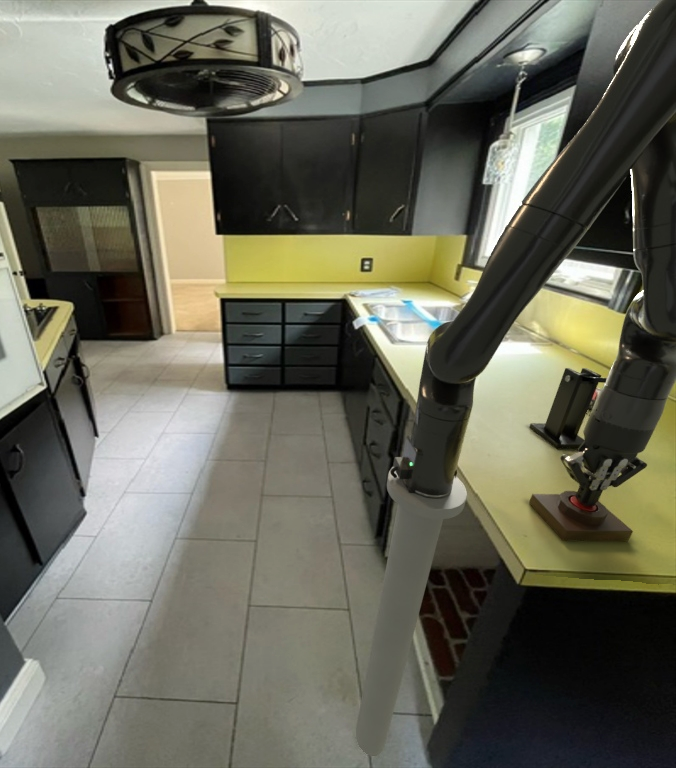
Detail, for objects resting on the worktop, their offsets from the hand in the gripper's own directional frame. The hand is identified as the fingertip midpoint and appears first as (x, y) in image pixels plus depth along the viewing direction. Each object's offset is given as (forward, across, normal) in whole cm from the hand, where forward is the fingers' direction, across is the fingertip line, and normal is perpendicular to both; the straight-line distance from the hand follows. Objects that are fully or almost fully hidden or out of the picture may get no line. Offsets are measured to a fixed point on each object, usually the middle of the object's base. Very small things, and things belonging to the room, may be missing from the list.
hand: (584, 502), depth 63 cm
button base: (+4, 0, 0) cm, 4 cm away
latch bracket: (+4, -17, -28) cm, 33 cm away
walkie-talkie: (+4, -39, -45) cm, 60 cm away
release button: (+2, 0, 0) cm, 2 cm away
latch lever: (-12, -17, -22) cm, 31 cm away
